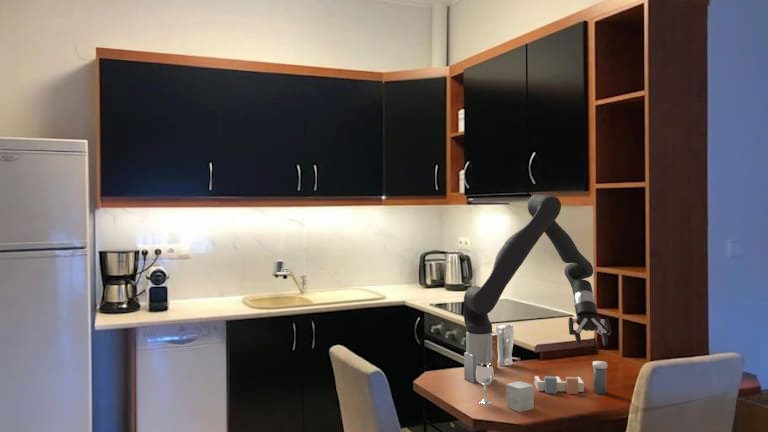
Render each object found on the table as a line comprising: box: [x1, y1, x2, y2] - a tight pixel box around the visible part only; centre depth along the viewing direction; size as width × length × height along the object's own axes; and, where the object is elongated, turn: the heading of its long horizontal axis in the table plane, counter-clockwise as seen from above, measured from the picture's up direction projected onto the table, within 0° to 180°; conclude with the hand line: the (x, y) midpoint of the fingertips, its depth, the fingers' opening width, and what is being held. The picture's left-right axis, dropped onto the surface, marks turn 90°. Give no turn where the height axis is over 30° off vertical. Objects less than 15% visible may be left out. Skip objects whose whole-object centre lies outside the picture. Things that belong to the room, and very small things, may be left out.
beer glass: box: [495, 323, 515, 367], centre depth 240 cm, size 7×7×15 cm
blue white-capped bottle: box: [592, 360, 608, 395], centre depth 204 cm, size 5×5×10 cm
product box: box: [506, 380, 535, 413], centre depth 190 cm, size 6×6×7 cm
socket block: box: [533, 375, 585, 395], centre depth 209 cm, size 11×15×5 cm
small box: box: [492, 332, 498, 370], centre depth 236 cm, size 8×6×13 cm
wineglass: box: [476, 363, 495, 405], centre depth 196 cm, size 6×6×12 cm
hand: (592, 344), depth 215 cm, fingers open, 8 cm apart
